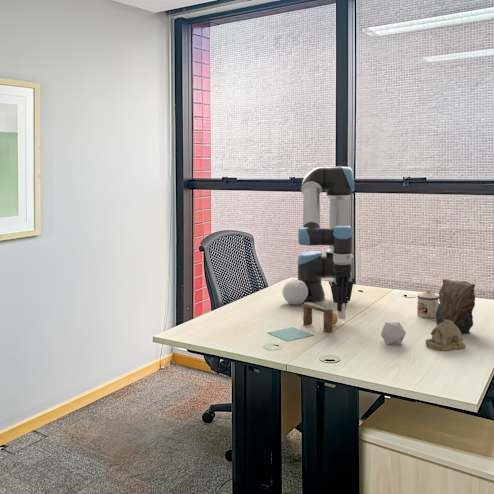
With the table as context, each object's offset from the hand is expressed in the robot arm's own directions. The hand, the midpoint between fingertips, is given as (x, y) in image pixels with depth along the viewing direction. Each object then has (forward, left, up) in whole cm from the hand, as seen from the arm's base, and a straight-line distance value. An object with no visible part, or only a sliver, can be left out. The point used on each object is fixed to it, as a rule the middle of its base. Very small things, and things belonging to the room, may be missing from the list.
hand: (341, 318), depth 235 cm
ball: (0, -6, +1) cm, 6 cm away
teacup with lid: (+15, +38, -2) cm, 41 cm away
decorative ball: (-36, +4, -2) cm, 36 cm away
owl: (+34, +27, -2) cm, 43 cm away
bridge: (0, -13, -2) cm, 13 cm away
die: (+31, -3, -2) cm, 31 cm away
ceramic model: (+44, +10, -2) cm, 45 cm away
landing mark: (0, -27, -2) cm, 27 cm away
